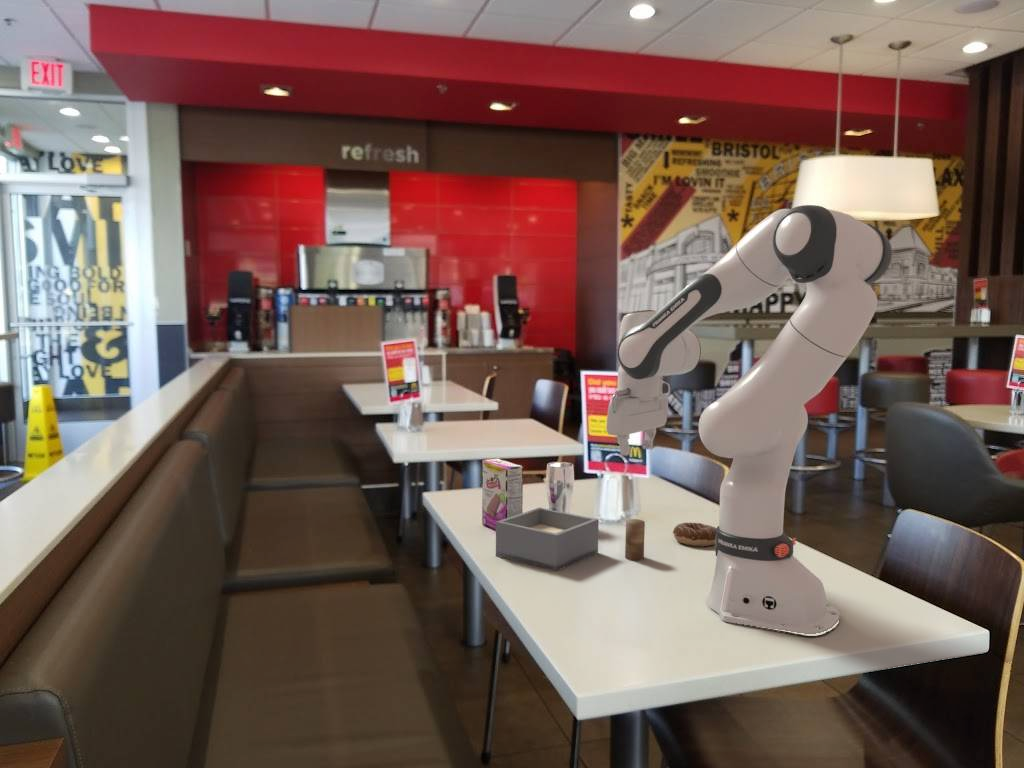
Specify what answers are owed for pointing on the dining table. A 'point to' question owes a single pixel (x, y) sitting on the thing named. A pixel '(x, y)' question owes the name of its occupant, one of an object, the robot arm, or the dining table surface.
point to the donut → (695, 534)
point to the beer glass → (560, 486)
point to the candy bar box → (501, 491)
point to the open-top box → (547, 538)
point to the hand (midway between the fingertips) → (636, 451)
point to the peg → (634, 539)
